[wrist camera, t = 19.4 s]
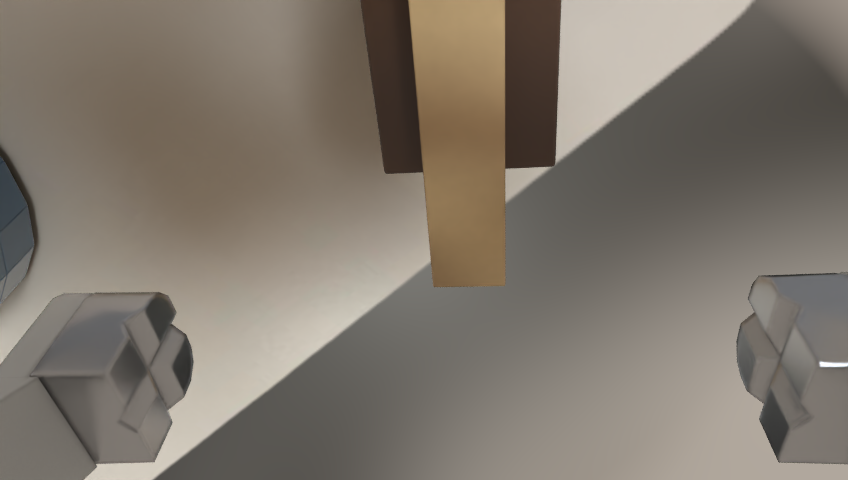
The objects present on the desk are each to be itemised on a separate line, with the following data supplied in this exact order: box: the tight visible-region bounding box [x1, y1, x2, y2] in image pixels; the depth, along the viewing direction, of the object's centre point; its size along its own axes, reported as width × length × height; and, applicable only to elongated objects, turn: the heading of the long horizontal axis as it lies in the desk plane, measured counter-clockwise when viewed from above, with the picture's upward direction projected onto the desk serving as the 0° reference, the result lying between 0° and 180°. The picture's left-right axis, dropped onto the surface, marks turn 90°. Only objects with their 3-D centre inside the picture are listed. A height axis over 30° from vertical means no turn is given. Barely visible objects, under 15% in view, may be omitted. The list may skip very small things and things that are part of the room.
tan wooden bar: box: [408, 0, 505, 287], centre depth 17 cm, size 12×2×1 cm, turn 4°
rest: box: [360, 0, 561, 174], centre depth 22 cm, size 6×5×12 cm
